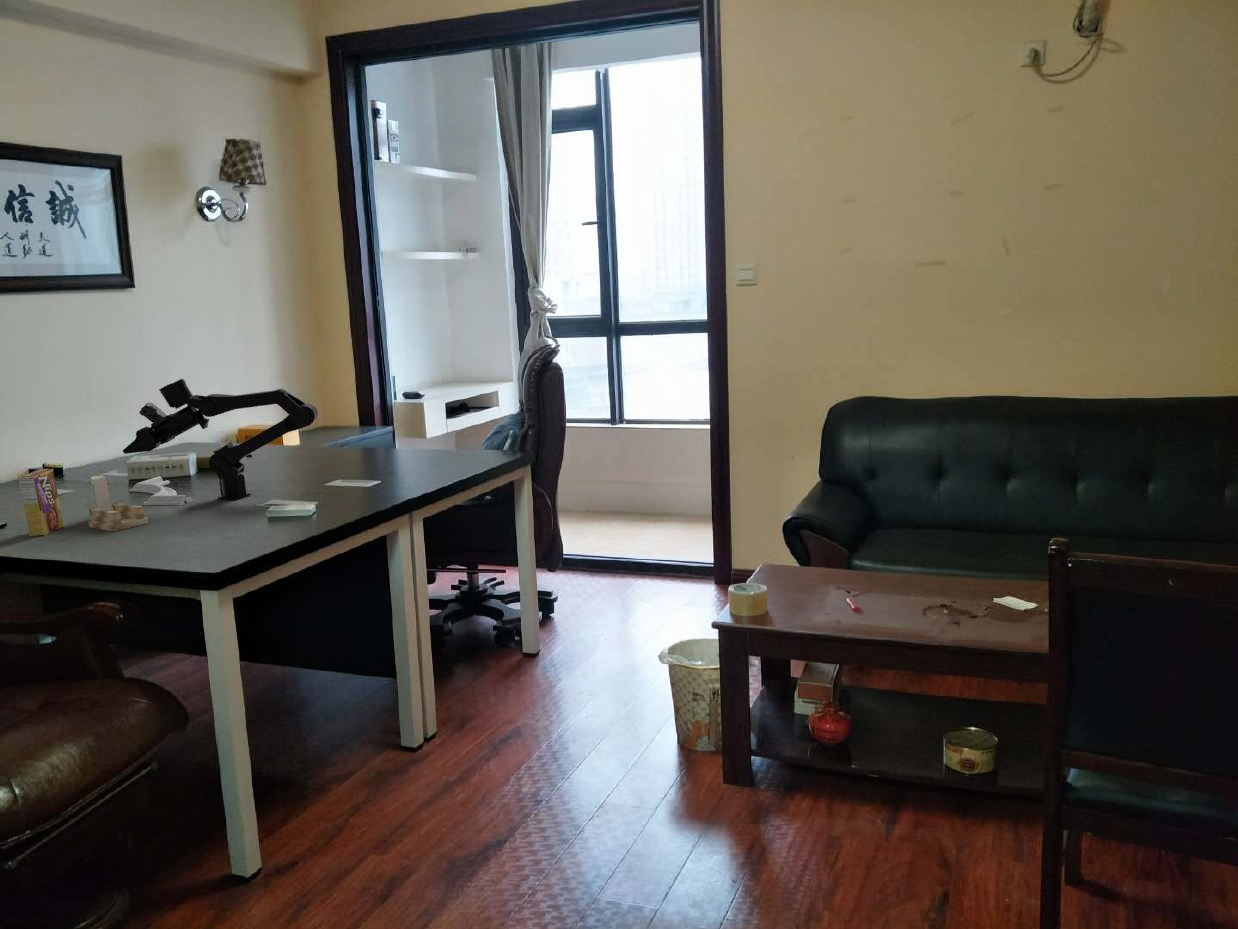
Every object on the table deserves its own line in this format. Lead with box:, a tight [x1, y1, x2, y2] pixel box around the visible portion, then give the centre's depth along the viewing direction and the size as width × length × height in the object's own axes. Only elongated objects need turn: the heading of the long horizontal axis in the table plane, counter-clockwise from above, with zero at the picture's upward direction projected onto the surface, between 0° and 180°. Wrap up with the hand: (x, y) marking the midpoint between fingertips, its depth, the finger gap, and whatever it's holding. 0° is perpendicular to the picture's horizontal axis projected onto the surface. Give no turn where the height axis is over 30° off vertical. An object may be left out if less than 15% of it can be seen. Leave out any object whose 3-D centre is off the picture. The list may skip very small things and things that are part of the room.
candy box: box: [17, 468, 65, 537], centre depth 251 cm, size 9×4×15 cm, turn 0°
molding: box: [129, 476, 194, 506], centre depth 292 cm, size 42×12×3 cm, turn 33°
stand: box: [87, 502, 149, 532], centre depth 255 cm, size 12×9×4 cm
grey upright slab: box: [90, 474, 112, 510], centre depth 263 cm, size 6×3×11 cm, turn 34°
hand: (129, 449), depth 276 cm, fingers open, 9 cm apart
